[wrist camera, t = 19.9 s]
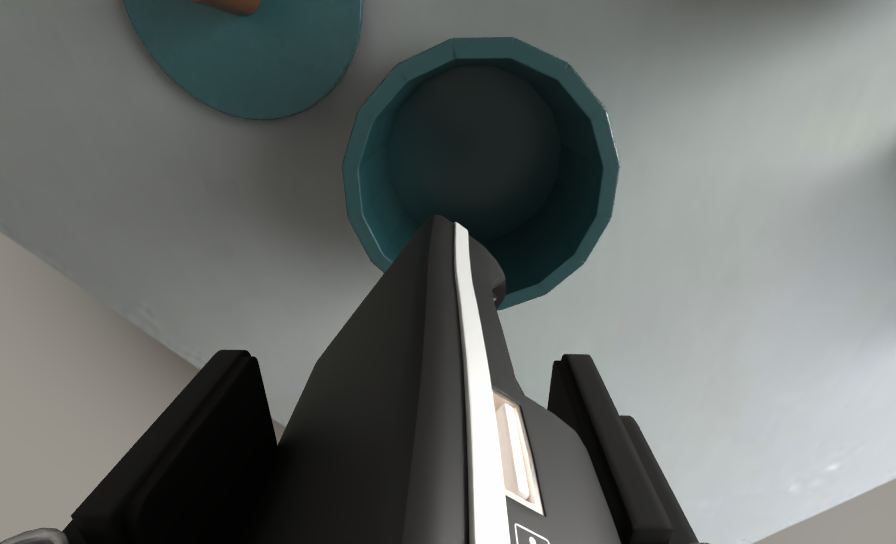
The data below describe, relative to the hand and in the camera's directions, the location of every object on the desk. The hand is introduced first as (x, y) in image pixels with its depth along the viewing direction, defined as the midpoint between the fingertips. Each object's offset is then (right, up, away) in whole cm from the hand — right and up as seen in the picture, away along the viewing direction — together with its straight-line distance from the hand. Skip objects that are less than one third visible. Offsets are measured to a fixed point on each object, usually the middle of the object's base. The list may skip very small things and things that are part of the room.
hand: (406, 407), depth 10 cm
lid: (-11, +20, +15) cm, 27 cm away
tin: (+3, +11, +19) cm, 22 cm away
